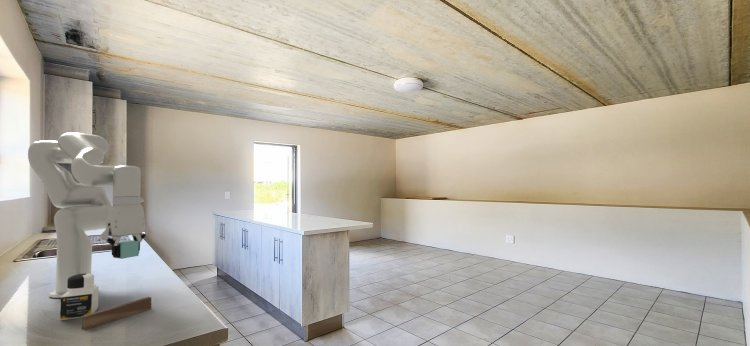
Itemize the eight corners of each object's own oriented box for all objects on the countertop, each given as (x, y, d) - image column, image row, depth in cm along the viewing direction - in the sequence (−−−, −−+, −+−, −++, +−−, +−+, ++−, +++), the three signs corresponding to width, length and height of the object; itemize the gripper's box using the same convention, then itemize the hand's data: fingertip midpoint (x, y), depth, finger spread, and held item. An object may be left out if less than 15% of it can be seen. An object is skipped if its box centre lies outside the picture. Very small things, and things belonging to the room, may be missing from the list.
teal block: (113, 257, 108) (113, 242, 108) (130, 254, 112) (130, 240, 113) (121, 258, 106) (121, 243, 106) (138, 255, 110) (138, 241, 110)
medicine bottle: (59, 321, 94) (61, 279, 94) (68, 312, 100) (70, 273, 101) (91, 316, 97) (92, 276, 98) (98, 308, 103) (99, 270, 104)
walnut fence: (81, 328, 89) (81, 315, 89) (147, 307, 104) (148, 296, 104) (84, 329, 88) (84, 317, 88) (151, 308, 103) (151, 297, 103)
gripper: (147, 200, 119) (146, 250, 118) (90, 203, 104) (89, 260, 103) (159, 200, 116) (159, 251, 115) (102, 203, 101) (101, 262, 100)
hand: (126, 255), depth 109 cm, fingers closed on teal block, 5 cm apart
